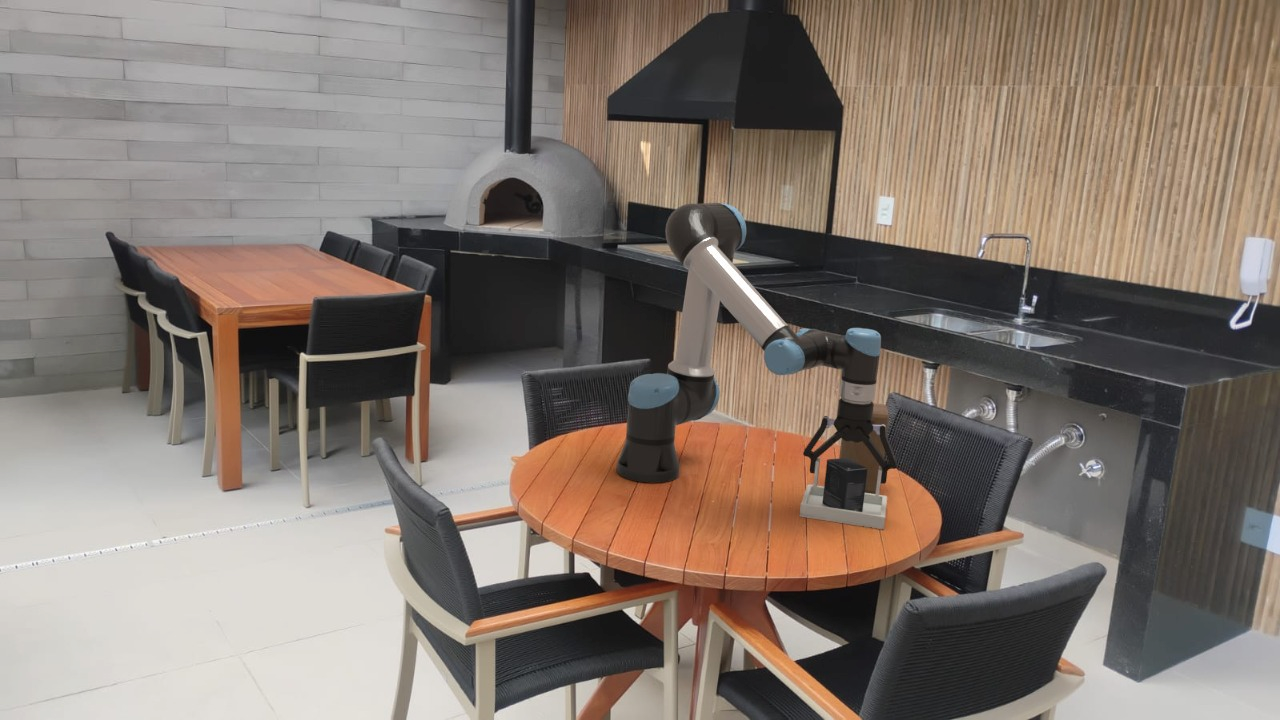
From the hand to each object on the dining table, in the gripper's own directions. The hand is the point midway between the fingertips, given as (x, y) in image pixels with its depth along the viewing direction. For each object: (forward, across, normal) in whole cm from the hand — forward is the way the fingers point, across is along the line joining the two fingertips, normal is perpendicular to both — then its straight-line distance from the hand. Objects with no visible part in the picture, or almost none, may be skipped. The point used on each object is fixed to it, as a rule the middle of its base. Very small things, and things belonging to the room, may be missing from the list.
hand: (845, 492), depth 219 cm
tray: (+5, 0, 0) cm, 5 cm away
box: (+4, 0, 0) cm, 4 cm away
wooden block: (+5, +2, +19) cm, 20 cm away
